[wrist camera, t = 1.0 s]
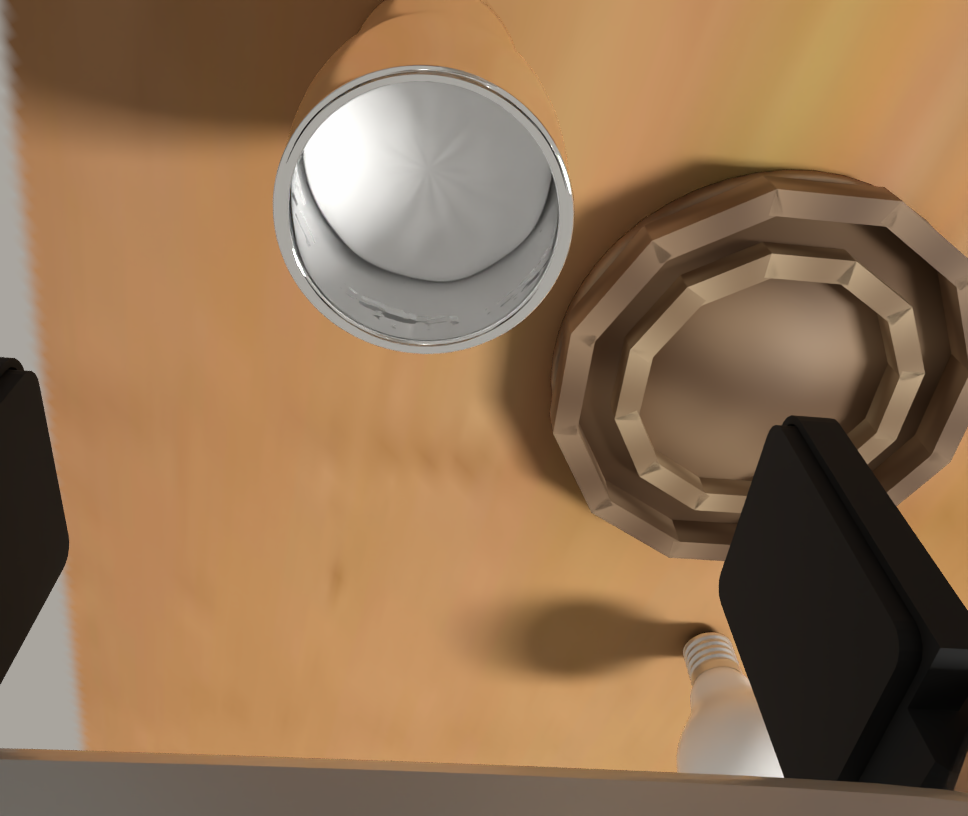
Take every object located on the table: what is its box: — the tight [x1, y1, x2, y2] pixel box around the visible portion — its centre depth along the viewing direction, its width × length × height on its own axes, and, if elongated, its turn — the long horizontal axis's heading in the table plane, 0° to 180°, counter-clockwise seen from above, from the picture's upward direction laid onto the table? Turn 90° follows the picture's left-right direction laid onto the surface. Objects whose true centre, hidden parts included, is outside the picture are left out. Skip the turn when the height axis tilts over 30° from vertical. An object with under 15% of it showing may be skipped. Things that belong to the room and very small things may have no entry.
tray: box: [549, 170, 968, 561], centre depth 38 cm, size 18×18×3 cm
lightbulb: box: [677, 632, 784, 778], centre depth 43 cm, size 6×6×11 cm
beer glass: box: [273, 0, 574, 354], centre depth 25 cm, size 7×7×15 cm
